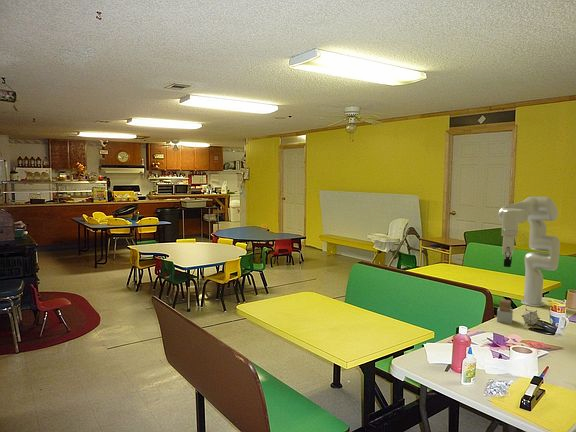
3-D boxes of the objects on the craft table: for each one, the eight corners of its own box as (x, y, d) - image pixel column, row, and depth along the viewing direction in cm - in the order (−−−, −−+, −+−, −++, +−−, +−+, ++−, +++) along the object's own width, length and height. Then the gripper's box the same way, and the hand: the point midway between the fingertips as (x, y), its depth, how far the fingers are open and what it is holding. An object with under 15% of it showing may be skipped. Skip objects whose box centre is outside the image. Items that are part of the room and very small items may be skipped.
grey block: (497, 317, 231) (498, 307, 230) (512, 320, 227) (512, 309, 226) (496, 321, 225) (497, 310, 224) (511, 324, 221) (512, 312, 220)
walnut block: (499, 308, 229) (500, 299, 228) (510, 309, 226) (510, 300, 226) (499, 310, 224) (499, 301, 224) (509, 312, 222) (510, 302, 221)
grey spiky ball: (532, 331, 221) (545, 316, 220) (532, 330, 214) (545, 315, 213) (516, 319, 226) (529, 305, 225) (516, 318, 219) (528, 303, 218)
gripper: (502, 230, 231) (500, 261, 232) (500, 234, 216) (498, 267, 217) (518, 231, 227) (516, 263, 228) (517, 235, 212) (515, 269, 214)
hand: (507, 265), depth 223 cm, fingers open, 9 cm apart
